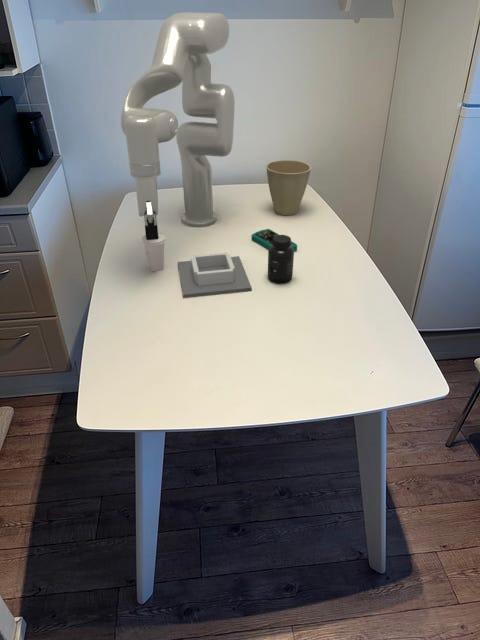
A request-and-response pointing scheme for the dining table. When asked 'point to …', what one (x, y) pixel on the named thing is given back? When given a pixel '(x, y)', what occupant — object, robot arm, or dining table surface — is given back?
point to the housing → (213, 275)
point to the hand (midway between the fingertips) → (151, 231)
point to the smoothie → (155, 252)
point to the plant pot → (287, 184)
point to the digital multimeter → (267, 239)
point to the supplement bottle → (280, 260)
